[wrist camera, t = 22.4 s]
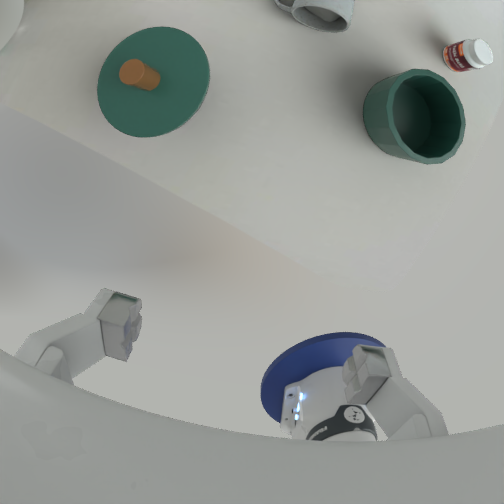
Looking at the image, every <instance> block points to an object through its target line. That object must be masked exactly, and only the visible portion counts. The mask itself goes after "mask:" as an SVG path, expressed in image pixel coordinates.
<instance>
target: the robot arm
mask: <svg viewBox="0 0 504 504" xmlns="http://www.w3.org/2000/svg"><path fill="white" fill-rule="evenodd" d="M141 308H142V302H141V299H139V298H136V297H132V296H129V295H126V294H123V293H119V292H115V291H112V290H109V289H106V288H103V289H101V291H100V292H99V293H98V295H97V296H96V297H95V299H94V300H93V302H92V303H91V304H90V306H89V307H88V308H87V310H86V311H85V313H84V314H81V313H80V314H77V315H75V316H72V317H70V318H68V319H65V320H63V321H61V322H58V323H56V324H54V325H51V326H49V327H47V328H44V329H42V330H39V331H37V332H35V333H32V334H30V335H29V336H28V338H27V339H26V340H25V342H24V343H23V345H22V346H21V347H20V349H19V350H18V352H17V353H16V354H15V356H14V357H13V356H12V355H10V354H8V353H6V352H4V351H3V350H1V349H0V504H504V425H498V426H493V427H488V428H484V429H479V430H474V431H469V432H463V433H457V434H452V435H449V434H448V431H447V428H446V425H445V422H444V419H443V416H442V413H441V412H440V411H439V410H438V409H437V408H436V407H435V406H434V405H433V404H432V403H431V402H430V401H429V400H428V399H427V398H426V397H425V396H424V395H423V394H422V393H421V392H420V391H419V390H418V389H417V388H416V387H415V386H414V385H412V384H411V383H410V382H409V381H408V380H407V379H406V378H403V377H402V374H401V371H400V368H399V365H398V363H397V360H396V357H395V354H394V352H393V350H392V349H391V348H387V347H376V346H368V345H360V344H358V345H356V346H355V347H354V349H353V350H352V352H353V356H351V357H349V358H347V360H346V362H345V363H344V366H338V367H330V368H325V369H322V370H319V371H317V372H315V373H313V374H311V375H309V376H308V377H306V378H305V379H303V380H301V381H298V382H295V383H292V384H289V385H287V386H286V387H285V389H284V398H283V407H282V415H281V423H280V428H281V431H283V432H284V433H287V434H290V435H292V439H288V438H277V437H269V436H261V435H253V434H247V433H240V432H234V431H228V430H223V429H217V428H212V427H207V426H203V425H198V424H194V423H189V422H185V421H181V420H177V419H173V418H169V417H165V416H161V415H158V414H154V413H151V412H147V411H143V410H141V409H137V408H134V407H131V406H128V405H125V404H122V403H119V402H116V401H113V400H110V399H107V398H105V397H102V396H99V395H96V394H94V393H91V392H89V391H86V390H84V389H81V388H79V387H76V386H74V384H73V381H72V378H74V377H75V376H77V375H78V374H80V373H81V372H83V371H85V370H86V369H88V368H89V367H91V366H92V365H93V364H95V363H97V362H98V361H99V360H101V359H103V358H104V357H105V355H106V356H109V357H112V358H115V359H119V360H122V361H127V359H128V357H129V355H130V353H131V351H132V342H134V341H136V340H137V338H138V336H139V332H140V329H141V323H142V316H141V315H140V313H139V312H140V310H141ZM375 420H376V421H377V423H378V424H379V426H380V427H381V428H382V430H383V431H384V432H385V434H386V435H387V437H388V439H387V440H386V441H377V434H376V428H375V426H374V423H373V422H374V421H375Z"/></svg>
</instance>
